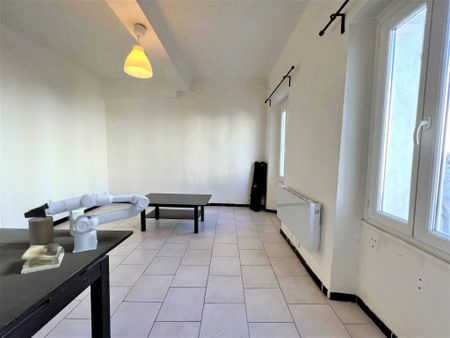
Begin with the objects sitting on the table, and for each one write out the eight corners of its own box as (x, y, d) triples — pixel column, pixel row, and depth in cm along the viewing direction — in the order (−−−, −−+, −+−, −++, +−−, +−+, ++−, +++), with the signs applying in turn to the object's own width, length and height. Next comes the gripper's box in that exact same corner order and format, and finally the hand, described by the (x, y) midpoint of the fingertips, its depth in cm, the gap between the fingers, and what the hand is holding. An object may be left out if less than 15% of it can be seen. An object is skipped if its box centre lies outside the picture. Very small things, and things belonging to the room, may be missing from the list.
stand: (64, 254, 99) (64, 248, 99) (58, 266, 88) (58, 260, 88) (31, 259, 94) (31, 253, 93) (21, 274, 82) (21, 267, 82)
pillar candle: (59, 241, 114) (57, 213, 114) (41, 248, 105) (40, 218, 104) (42, 240, 115) (41, 212, 115) (23, 248, 106) (22, 218, 105)
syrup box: (81, 231, 129) (80, 207, 128) (84, 234, 125) (83, 209, 124) (69, 234, 124) (68, 209, 124) (72, 236, 121) (72, 211, 120)
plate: (62, 248, 98) (65, 237, 99) (57, 259, 88) (60, 247, 88) (30, 247, 93) (34, 236, 93) (21, 259, 82) (25, 246, 83)
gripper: (64, 196, 106) (28, 203, 99) (61, 198, 94) (20, 207, 87) (67, 210, 107) (32, 218, 100) (65, 214, 95) (24, 224, 87)
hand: (26, 214), depth 93 cm, fingers open, 7 cm apart
